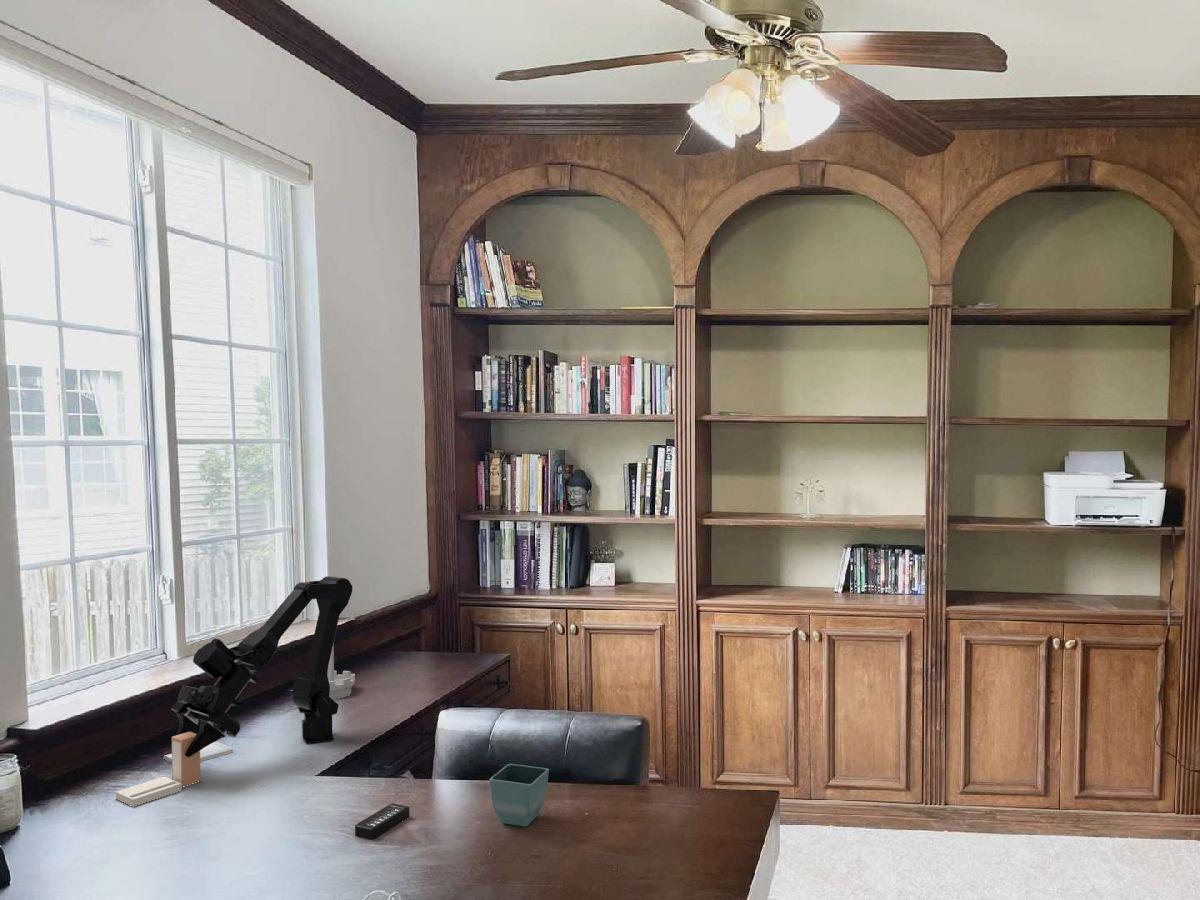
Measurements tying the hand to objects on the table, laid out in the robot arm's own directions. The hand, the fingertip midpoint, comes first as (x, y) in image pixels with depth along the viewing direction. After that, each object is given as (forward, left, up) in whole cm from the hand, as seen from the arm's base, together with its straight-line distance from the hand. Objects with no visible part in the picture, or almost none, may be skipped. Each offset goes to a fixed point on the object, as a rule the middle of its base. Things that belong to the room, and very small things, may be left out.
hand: (179, 753), depth 188 cm
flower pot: (-59, +49, -7) cm, 77 cm away
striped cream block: (+6, +3, -7) cm, 9 cm away
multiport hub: (-35, +39, -7) cm, 53 cm away
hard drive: (-4, -17, -7) cm, 19 cm away
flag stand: (-38, -55, -7) cm, 68 cm away
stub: (-1, -1, -7) cm, 7 cm away
